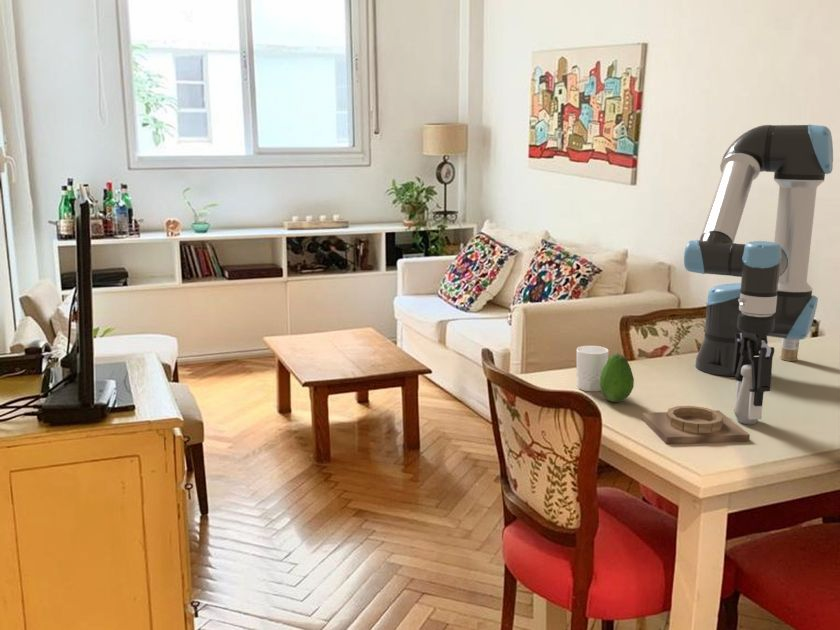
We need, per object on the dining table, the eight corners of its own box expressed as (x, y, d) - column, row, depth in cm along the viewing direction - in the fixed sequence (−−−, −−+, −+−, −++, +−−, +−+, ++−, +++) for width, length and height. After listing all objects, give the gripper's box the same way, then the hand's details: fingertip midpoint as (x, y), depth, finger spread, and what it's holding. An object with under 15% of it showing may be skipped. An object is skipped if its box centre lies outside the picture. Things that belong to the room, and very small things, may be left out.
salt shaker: (751, 416, 190) (756, 361, 187) (765, 425, 185) (771, 368, 182) (727, 417, 189) (732, 362, 186) (741, 426, 184) (746, 370, 181)
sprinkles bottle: (787, 356, 238) (791, 310, 235) (801, 360, 234) (806, 313, 231) (776, 358, 236) (781, 312, 233) (790, 362, 232) (795, 315, 229)
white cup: (570, 389, 209) (572, 351, 207) (580, 381, 216) (581, 344, 214) (601, 394, 206) (603, 355, 203) (610, 385, 212) (612, 347, 210)
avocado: (604, 407, 196) (606, 358, 193) (594, 396, 204) (597, 349, 201) (637, 406, 197) (640, 357, 194) (626, 395, 204) (629, 348, 202)
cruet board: (718, 416, 190) (719, 402, 189) (749, 441, 175) (750, 425, 174) (641, 419, 188) (642, 404, 188) (666, 444, 174) (667, 428, 173)
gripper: (721, 304, 190) (713, 400, 195) (760, 323, 172) (750, 429, 177) (752, 303, 191) (744, 399, 196) (795, 322, 172) (784, 428, 178)
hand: (747, 413), depth 186 cm, fingers closed on salt shaker, 6 cm apart
